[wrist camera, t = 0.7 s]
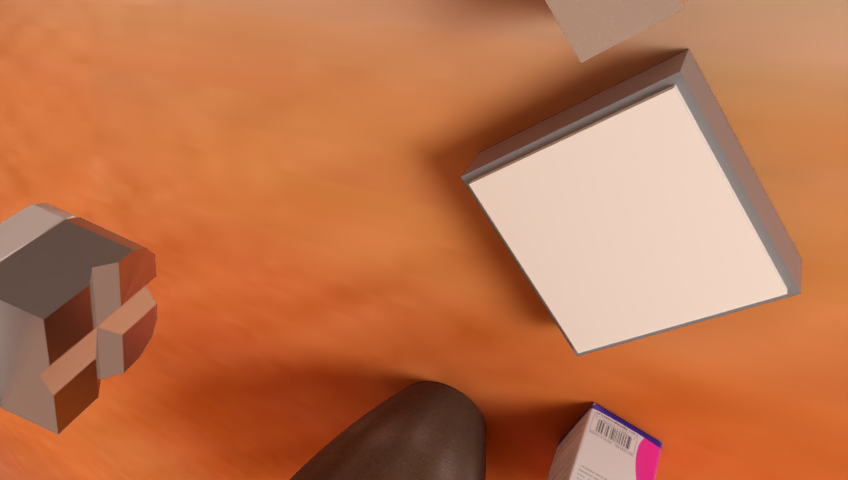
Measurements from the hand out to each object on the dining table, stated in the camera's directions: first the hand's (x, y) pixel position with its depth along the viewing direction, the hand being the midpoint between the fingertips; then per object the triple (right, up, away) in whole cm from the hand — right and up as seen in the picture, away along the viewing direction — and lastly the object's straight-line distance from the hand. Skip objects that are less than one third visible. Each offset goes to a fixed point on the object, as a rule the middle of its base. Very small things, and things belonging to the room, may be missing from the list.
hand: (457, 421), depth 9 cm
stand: (+12, +4, +39) cm, 41 cm away
